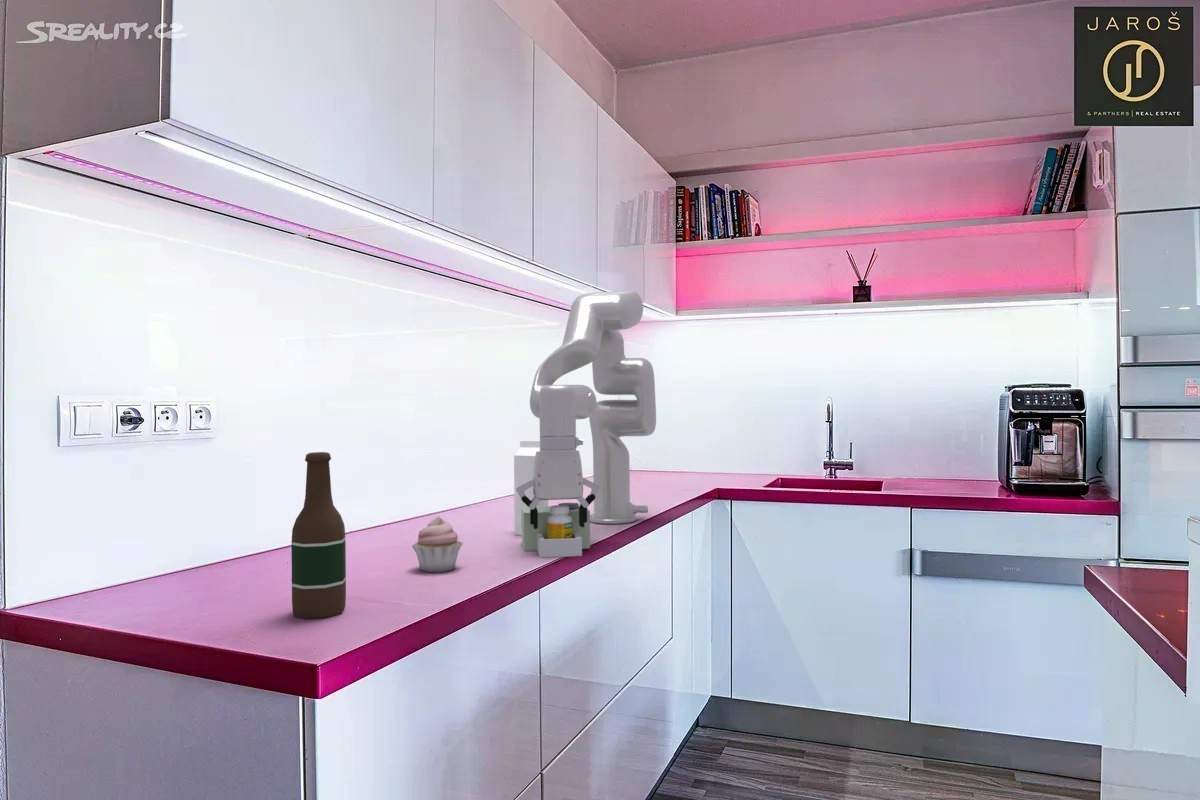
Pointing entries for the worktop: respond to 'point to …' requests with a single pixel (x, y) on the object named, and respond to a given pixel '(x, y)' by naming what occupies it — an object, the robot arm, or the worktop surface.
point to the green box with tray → (555, 547)
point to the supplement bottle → (559, 523)
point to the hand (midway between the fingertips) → (558, 527)
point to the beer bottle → (318, 547)
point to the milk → (524, 478)
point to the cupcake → (437, 546)
